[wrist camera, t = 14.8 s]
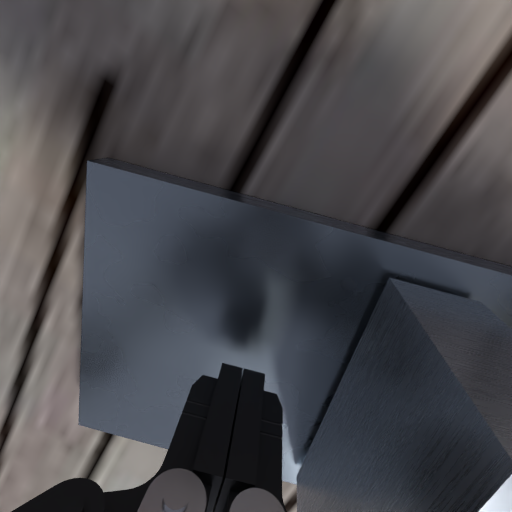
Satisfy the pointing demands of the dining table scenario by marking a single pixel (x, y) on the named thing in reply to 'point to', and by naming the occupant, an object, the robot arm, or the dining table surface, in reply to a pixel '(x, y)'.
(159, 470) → the robot arm
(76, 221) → the dining table surface
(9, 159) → the dining table surface
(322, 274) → the vise
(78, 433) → the dining table surface
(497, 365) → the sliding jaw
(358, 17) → the dining table surface
